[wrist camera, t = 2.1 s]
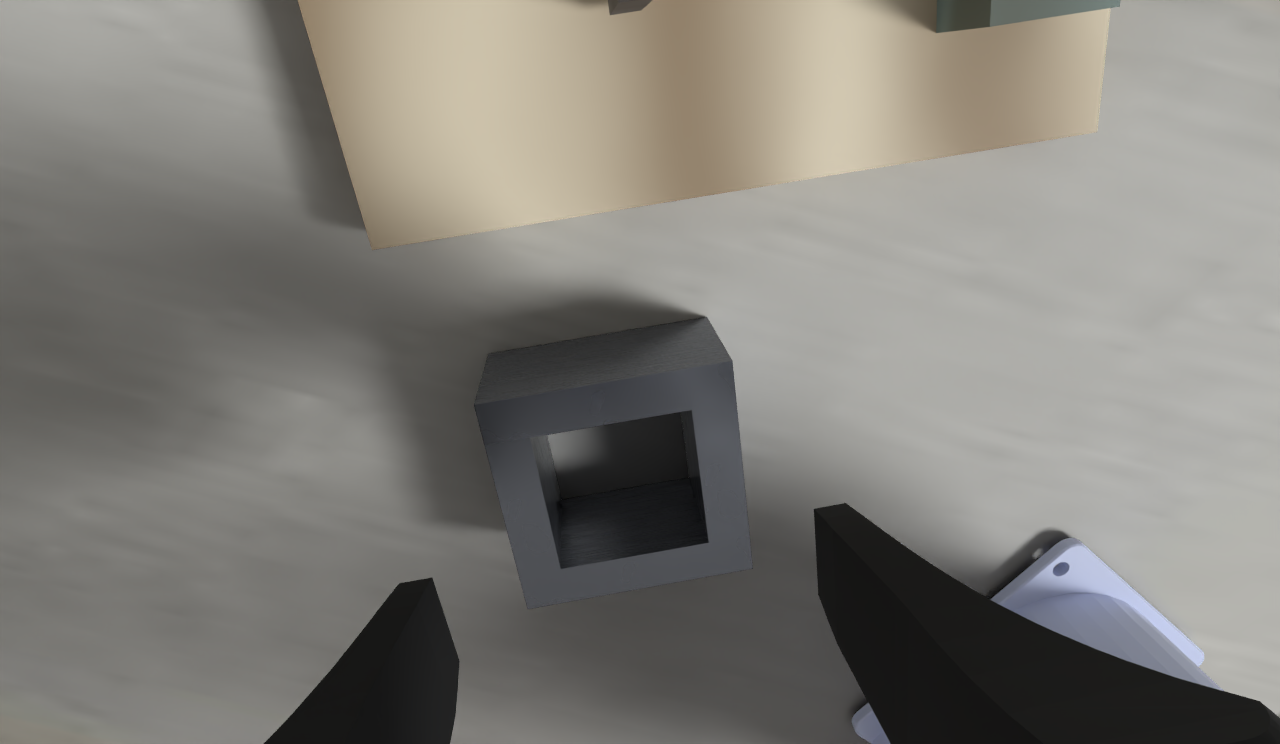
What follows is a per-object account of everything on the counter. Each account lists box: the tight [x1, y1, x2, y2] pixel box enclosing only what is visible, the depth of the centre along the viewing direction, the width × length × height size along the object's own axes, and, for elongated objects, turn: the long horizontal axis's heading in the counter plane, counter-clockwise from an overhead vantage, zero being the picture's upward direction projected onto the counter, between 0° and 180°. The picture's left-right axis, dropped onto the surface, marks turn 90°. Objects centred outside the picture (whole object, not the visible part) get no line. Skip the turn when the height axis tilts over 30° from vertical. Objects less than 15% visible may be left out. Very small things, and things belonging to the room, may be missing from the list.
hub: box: [474, 317, 753, 609], centre depth 18 cm, size 6×6×3 cm
